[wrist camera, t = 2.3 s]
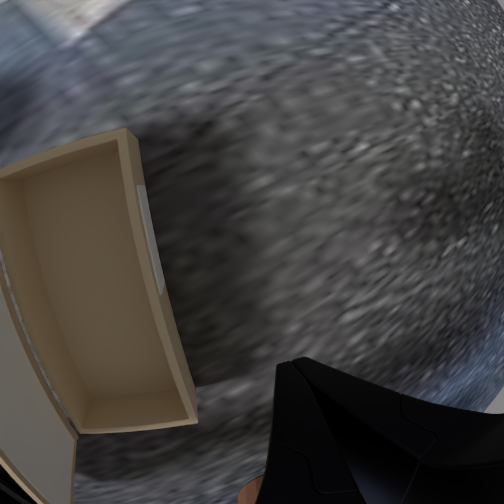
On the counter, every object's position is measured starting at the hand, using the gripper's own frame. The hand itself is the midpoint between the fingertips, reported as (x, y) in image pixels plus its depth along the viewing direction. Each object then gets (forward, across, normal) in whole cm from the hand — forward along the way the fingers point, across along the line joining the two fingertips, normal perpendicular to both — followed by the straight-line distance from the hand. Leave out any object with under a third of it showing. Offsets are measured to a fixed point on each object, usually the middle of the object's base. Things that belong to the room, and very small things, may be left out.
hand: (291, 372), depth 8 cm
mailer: (+12, +9, 0) cm, 15 cm away
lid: (+4, +13, 0) cm, 13 cm away
